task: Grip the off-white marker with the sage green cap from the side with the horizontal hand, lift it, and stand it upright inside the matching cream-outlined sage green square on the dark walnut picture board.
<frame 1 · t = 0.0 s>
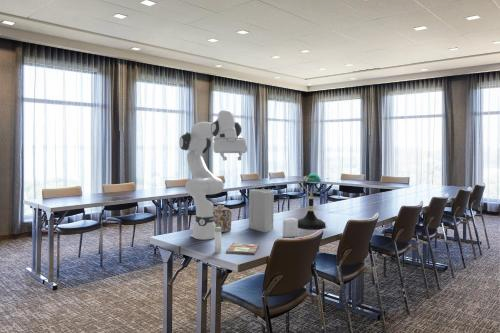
hand: (232, 160, 218), 52 cm above the table, tool tilted 20°, fingers open, 8 cm apart
marker: (217, 252, 218), on the table
banker's lamp: (310, 226, 293), on the table
decorative jar: (219, 230, 272), on the table, touching arm
picture board: (243, 249, 224), on the table
paper bag: (264, 228, 282), on the table
photo printer: (290, 236, 259), on the table
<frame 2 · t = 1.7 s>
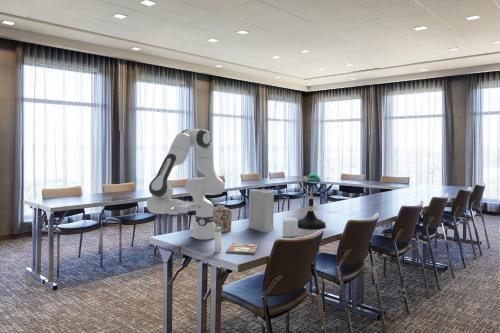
hand: (198, 207, 219), 25 cm above the table, tool horizontal, fingers open, 8 cm apart
nothing on the table moved.
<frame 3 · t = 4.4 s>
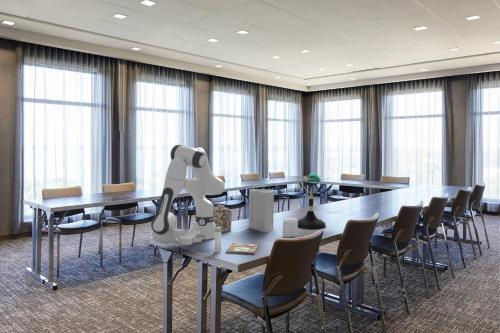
hand: (203, 238, 219), 7 cm above the table, tool horizontal, fingers open, 8 cm apart
nothing on the table moved.
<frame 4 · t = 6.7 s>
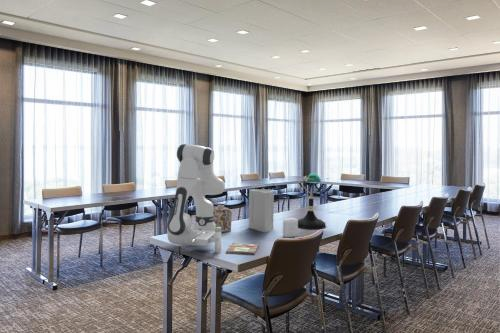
hand: (219, 238, 218), 8 cm above the table, tool horizontal, fingers closed on marker, 3 cm apart
marker: (217, 252, 218), on the table, touching gripper
everything else where it was.
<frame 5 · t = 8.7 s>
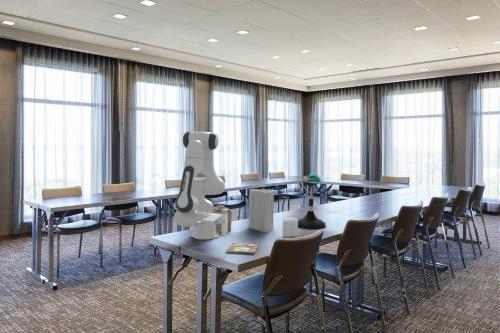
hand: (226, 220, 218), 18 cm above the table, tool horizontal, fingers closed on marker, 3 cm apart
marker: (224, 234, 218), point 10 cm above the table, touching gripper
everything else where it was.
when the fingers open (10 cm above the table, at t = 11.1 s): marker drops 1 cm, resting on picture board.
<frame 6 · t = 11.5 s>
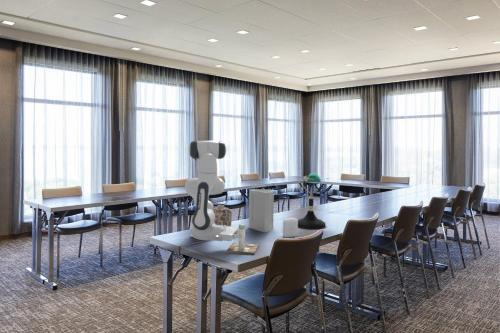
hand: (243, 234, 219), 10 cm above the table, tool horizontal, fingers open, 8 cm apart
marker: (241, 249, 220), point 1 cm above the table, touching picture board
everything else where it was.
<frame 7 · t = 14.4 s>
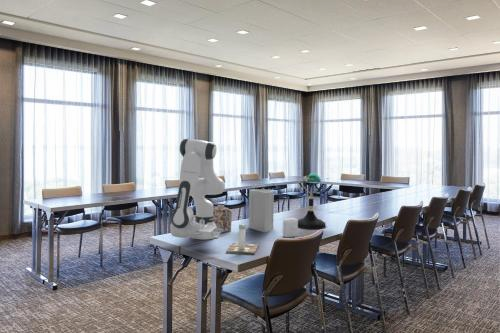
hand: (221, 232, 222), 10 cm above the table, tool horizontal, fingers open, 8 cm apart
nothing on the table moved.
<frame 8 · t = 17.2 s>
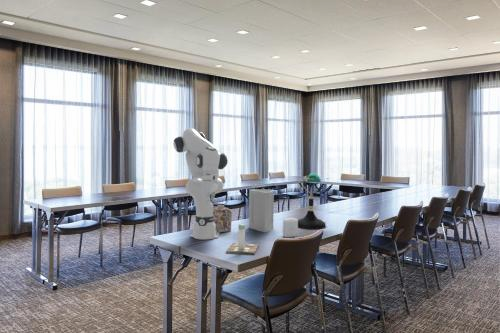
hand: (210, 200, 220), 29 cm above the table, tool pointing down, fingers open, 8 cm apart
nothing on the table moved.
at the end: marker 0.0 cm from the target spot, point 1.4 cm above the table; marker tilted 1°; the gripper is holding nothing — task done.
